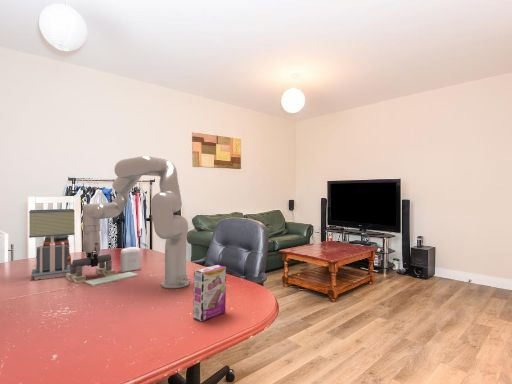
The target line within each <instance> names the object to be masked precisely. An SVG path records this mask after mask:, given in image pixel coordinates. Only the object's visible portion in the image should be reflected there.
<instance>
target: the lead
mask: <svg viewBox="0 0 512 384" xmlns="http://www.w3.org/2000/svg"><path fill="white" fill-rule="evenodd" d="M91 259H92V258H91V257H89V258H87V257H84V258H78V259H73V260H71V264H72V265H73V268H76V267H77V266H82V267H85V266H87V265H90V266H91ZM106 261H112V255H111V254H110V253H108V254H102V255H98V263H102V262H106Z"/></svg>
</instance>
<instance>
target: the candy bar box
mask: <svg viewBox="0 0 512 384" xmlns="http://www.w3.org/2000/svg"><path fill="white" fill-rule="evenodd" d="M226 286H227V267H226V266H223V265H219V264H216V265H212V266H207V267H203V268H199V269H195V270H193V297H192V298H193V300H192V301H193V305H192V319H194V320H197V321H198V322H201V323H202V322H205V321H207V320H210V319H212V318H214V317H217V316H219V315H222V314H225V313H226V299H227V298H226V295H227V294H226V293H227V292H226V290H227V287H226Z"/></svg>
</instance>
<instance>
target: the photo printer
mask: <svg viewBox="0 0 512 384" xmlns="http://www.w3.org/2000/svg"><path fill="white" fill-rule="evenodd" d="M119 267H120V269H119V271H120V272H121V273H126V272H132V271H138V270H140V269H141V248H140V247H135V246H129V247H125V248H122V249H121V250H120V266H119Z"/></svg>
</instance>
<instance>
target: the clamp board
mask: <svg viewBox="0 0 512 384" xmlns="http://www.w3.org/2000/svg"><path fill="white" fill-rule="evenodd" d="M112 263H113V262H112V260H111V261H106V267H105V262H102V263H99V267H98V266H97V267H95V273H96V274H98V275H101V276H103V277H107V276H112V275H116V270H115V269H113V268H112V266H113V265H112ZM69 265H70V272H69V273H66V276H65V279H66V280H68V281H70V282H72V283H74V284H81V283H85V281H87V280H86V279H87V276H86V275H84V274H83V266H77V267H76V268H73V265H72V263H71V264H69Z"/></svg>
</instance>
